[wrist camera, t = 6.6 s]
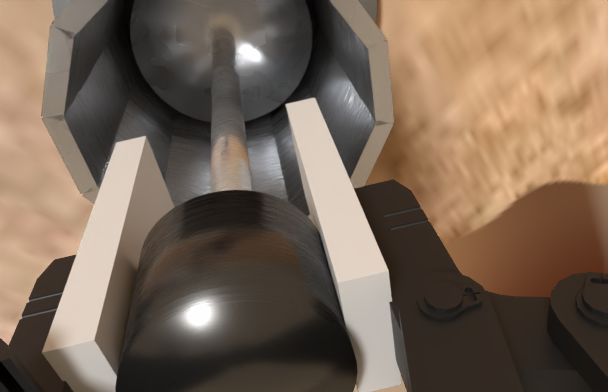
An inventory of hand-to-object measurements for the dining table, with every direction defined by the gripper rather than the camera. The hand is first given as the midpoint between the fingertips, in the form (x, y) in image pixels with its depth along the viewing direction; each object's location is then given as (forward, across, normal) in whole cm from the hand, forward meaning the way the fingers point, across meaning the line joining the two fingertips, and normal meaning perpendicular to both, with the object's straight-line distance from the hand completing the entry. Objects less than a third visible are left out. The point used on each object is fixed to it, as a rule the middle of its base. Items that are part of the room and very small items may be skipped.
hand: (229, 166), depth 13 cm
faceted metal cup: (+15, 0, 0) cm, 15 cm away
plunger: (+12, 0, 0) cm, 12 cm away
